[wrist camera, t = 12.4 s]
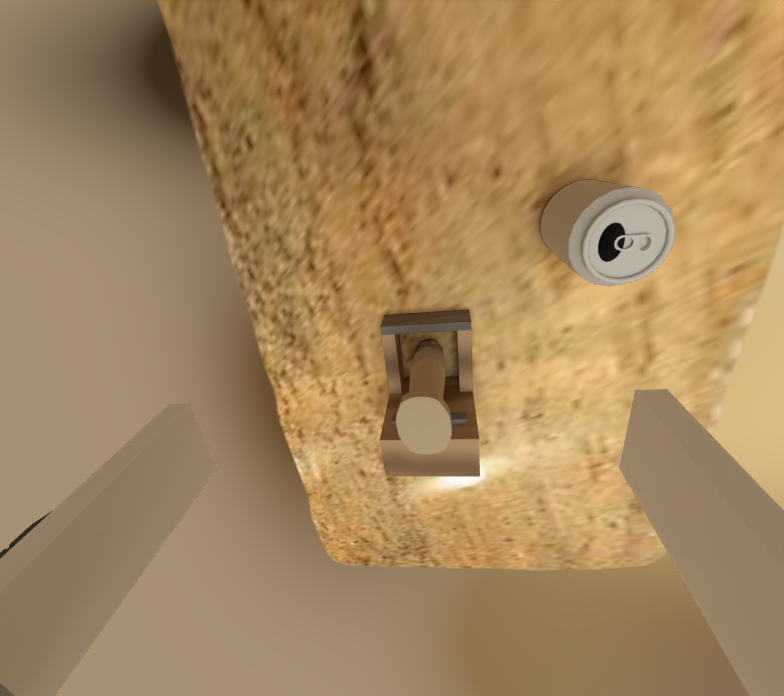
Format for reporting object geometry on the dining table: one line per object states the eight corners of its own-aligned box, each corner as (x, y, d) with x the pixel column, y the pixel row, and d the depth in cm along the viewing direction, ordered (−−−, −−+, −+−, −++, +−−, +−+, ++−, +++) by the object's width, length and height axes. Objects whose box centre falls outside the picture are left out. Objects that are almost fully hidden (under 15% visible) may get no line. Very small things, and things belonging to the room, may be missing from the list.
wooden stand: (384, 315, 45) (367, 364, 35) (468, 309, 44) (477, 359, 33) (397, 410, 51) (385, 476, 41) (471, 408, 50) (479, 476, 39)
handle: (414, 373, 48) (403, 455, 35) (406, 328, 46) (390, 399, 32) (451, 370, 48) (454, 453, 34) (446, 324, 45) (446, 394, 32)
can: (543, 180, 37) (585, 190, 26) (625, 177, 36) (702, 186, 25) (533, 256, 40) (566, 293, 30) (608, 256, 39) (670, 293, 29)
